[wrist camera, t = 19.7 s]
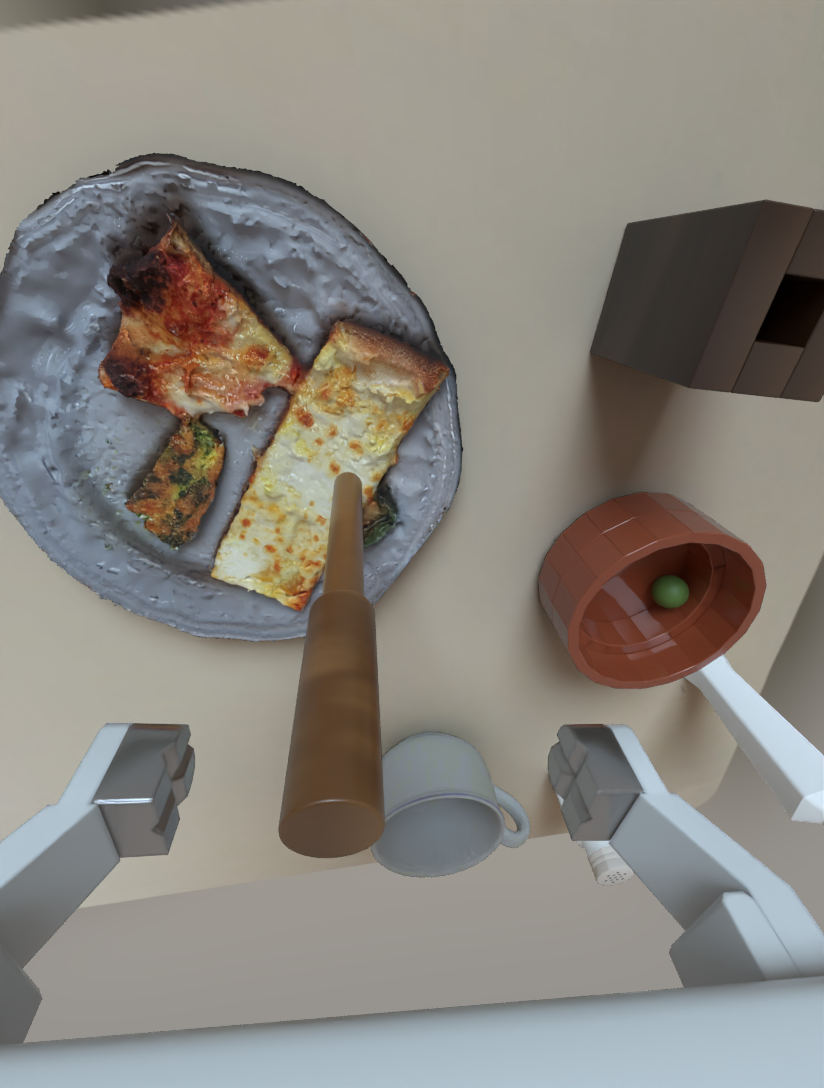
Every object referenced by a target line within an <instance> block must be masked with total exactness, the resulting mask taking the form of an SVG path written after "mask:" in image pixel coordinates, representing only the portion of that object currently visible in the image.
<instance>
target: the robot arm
mask: <svg viewBox="0 0 824 1088" xmlns="http://www.w3.org/2000/svg"><path fill="white" fill-rule="evenodd" d="M190 736H191V733H190V729H189V725H186V724H141V723H107V724H106V725H105V726H104V727H103V728H102V729H101V730H100V731H99V732H98V733H97V735H96V737H95V739H94V740H93V742H92V744H91V746H90V747H89V749H88V751H87V753H86V754H85V756H84V758H83V760H82V761H81V763H80V765H79V766H78V768H77V770H76V772H75V773H74V775H73V777H72V779H71V780H70V782H69V784H68V786H67V787H66V789H65V791H64V793H63V794H62V796H61V798H60V799H59V801H58V803H57V805H47V806H46V807H45V808H43V809H42V810H41V811H40V812H38V813H37V814H36V815H34V816H33V817H32V818H30V819H29V820H28V821H27V822H25V823H24V824H23V825H21V826H20V827H19V828H18V829H16V830H15V831H14V832H12V833H11V834H10V835H8V836H7V837H6V838H5V839H3V840H2V841H1V842H0V1088H824V934H823V933H822V931H821V929H820V928H819V926H818V925H817V923H816V922H815V920H814V919H813V918H812V916H811V915H810V913H809V912H808V910H807V909H806V908H805V906H804V904H803V903H802V902H801V900H800V899H799V897H798V896H797V894H796V893H795V891H794V890H793V888H792V887H791V886H789V885H788V884H787V883H786V882H785V881H783V880H782V879H781V878H780V877H779V876H777V875H776V874H775V873H774V872H772V871H771V870H770V869H769V868H767V867H766V866H765V865H764V864H762V863H761V862H760V861H759V860H758V859H756V858H755V857H754V856H752V855H751V854H750V853H749V852H748V851H746V850H745V849H744V848H743V847H741V846H740V845H739V844H738V843H736V842H735V841H734V840H733V839H732V838H730V837H729V836H728V835H727V834H725V833H724V832H723V831H722V830H720V829H719V828H718V827H717V826H715V825H714V824H713V823H712V822H710V821H709V820H708V819H707V818H706V817H704V816H703V815H702V814H701V813H699V812H698V811H697V810H696V809H694V808H693V807H692V806H691V805H689V804H688V803H687V802H686V801H685V800H683V799H682V798H681V797H680V796H678V795H677V794H676V793H669V792H668V790H667V789H666V787H665V785H664V784H663V782H662V780H661V778H660V777H659V775H658V773H657V772H656V770H655V768H654V766H653V765H652V763H651V761H650V760H649V758H648V756H647V754H646V753H645V751H644V749H643V748H642V746H641V744H640V742H639V741H638V739H637V737H636V736H635V734H634V732H633V731H632V729H631V728H630V727H629V726H627V725H603V724H574V725H563V726H562V727H560V729H559V731H558V733H557V736H558V739H559V742H558V743H556V744H555V745H554V746H552V747H551V750H550V752H549V755H548V772H549V778H550V781H551V784H552V787H553V790H554V791H555V792H556V793H557V794H558V795H559V796H560V797H561V798H562V799H564V800H563V804H562V807H561V812H562V815H563V817H564V820H565V823H566V826H567V828H568V831H569V834H570V836H571V839H572V841H609V844H610V845H611V847H612V848H613V849H614V850H615V851H616V852H617V853H618V855H619V856H620V857H621V858H622V859H623V860H624V861H625V863H626V864H627V865H628V866H629V867H630V868H631V869H632V871H633V872H634V873H635V874H636V875H637V876H638V877H639V878H640V880H641V881H642V882H643V883H644V884H645V885H646V886H647V888H648V889H649V890H650V891H651V892H652V893H653V894H654V896H655V897H656V898H657V899H658V900H659V901H660V902H661V904H662V905H663V906H664V907H665V908H666V909H667V910H668V912H669V913H670V914H671V915H672V916H673V917H674V918H675V920H676V921H677V922H678V923H679V924H680V925H681V926H682V928H683V929H684V930H685V932H684V933H683V934H682V935H681V936H680V937H679V938H678V939H677V940H676V941H675V942H674V943H673V944H672V945H671V949H670V951H669V954H670V956H671V959H672V961H673V963H674V965H675V968H676V970H677V972H678V975H679V977H680V979H681V982H682V984H683V986H684V988H675V989H664V990H663V989H662V990H651V991H638V992H627V993H614V994H603V995H591V996H579V997H567V998H555V999H543V1000H531V1001H519V1002H507V1003H495V1004H483V1005H471V1006H459V1007H447V1008H436V1009H423V1010H412V1011H399V1012H388V1013H375V1014H363V1015H351V1016H339V1017H327V1018H317V1019H304V1020H291V1021H280V1022H269V1023H255V1024H243V1025H232V1026H220V1027H208V1028H197V1029H184V1030H172V1031H160V1032H148V1033H137V1034H124V1035H112V1036H100V1037H89V1038H76V1039H64V1040H52V1041H40V1042H28V1043H23V1042H24V1040H25V1037H26V1035H27V1033H28V1030H29V1028H30V1025H31V1023H32V1021H33V1018H34V1016H35V1014H36V1012H37V1009H38V1007H39V1005H40V1002H41V1000H42V996H41V993H40V990H39V988H38V987H37V986H36V985H35V983H34V982H33V981H32V980H31V979H30V977H29V976H28V975H27V974H26V973H25V972H24V970H23V968H24V966H25V965H26V964H27V963H28V962H29V961H30V960H31V959H32V958H33V956H34V955H35V954H36V953H37V952H38V951H39V950H40V949H41V948H42V947H43V945H44V944H45V943H46V942H47V941H48V940H49V939H50V938H51V936H52V935H53V934H54V933H55V932H56V931H57V930H58V929H59V928H60V927H61V926H62V925H63V923H64V922H65V921H66V920H67V919H68V918H69V916H71V915H72V913H73V912H74V911H75V910H76V909H77V908H78V907H79V906H80V905H81V904H82V902H83V901H84V900H85V899H86V898H87V897H88V896H89V895H90V894H91V893H92V891H93V890H94V889H95V888H96V887H97V886H98V885H99V884H100V883H101V881H102V880H103V879H104V878H105V877H106V876H107V875H108V874H109V873H110V872H111V870H112V869H113V868H114V867H115V866H116V865H117V864H118V863H119V862H120V858H122V857H138V856H155V855H168V853H169V850H170V847H171V844H172V841H173V838H174V835H175V832H176V829H177V826H178V823H179V820H180V817H179V813H178V808H177V806H178V805H179V804H180V803H181V802H182V801H183V800H184V799H185V798H186V797H187V796H188V793H189V790H190V787H191V784H192V780H193V774H194V769H195V753H194V748H192V747H191V746H190V745H188V742H189V739H190Z"/></svg>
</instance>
